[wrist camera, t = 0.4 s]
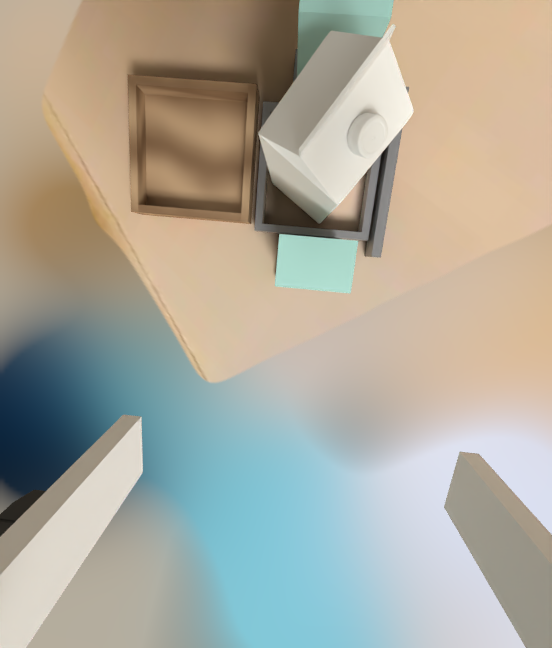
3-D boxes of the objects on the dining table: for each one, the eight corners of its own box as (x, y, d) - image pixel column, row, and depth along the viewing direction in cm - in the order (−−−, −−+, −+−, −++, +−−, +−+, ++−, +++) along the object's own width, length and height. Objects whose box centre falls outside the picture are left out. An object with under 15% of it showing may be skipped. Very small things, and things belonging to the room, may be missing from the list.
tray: (140, 88, 33) (127, 74, 30) (259, 97, 32) (256, 83, 30) (142, 214, 36) (131, 211, 33) (251, 223, 35) (248, 221, 33)
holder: (268, 53, 31) (253, -81, 19) (404, 63, 31) (482, -68, 18) (253, 275, 37) (233, 288, 24) (368, 286, 36) (409, 305, 24)
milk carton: (271, 183, 34) (248, 103, 16) (313, 128, 33) (340, -31, 14) (319, 224, 35) (349, 195, 17) (361, 172, 34) (446, 76, 15)
